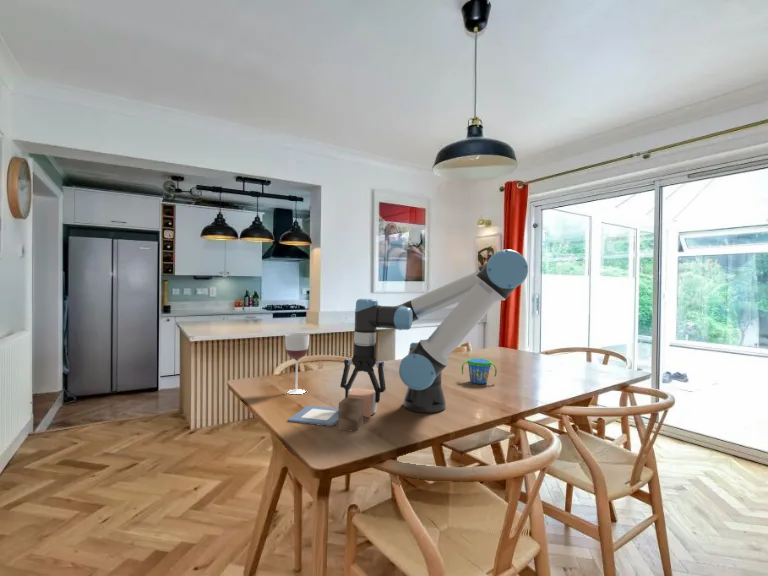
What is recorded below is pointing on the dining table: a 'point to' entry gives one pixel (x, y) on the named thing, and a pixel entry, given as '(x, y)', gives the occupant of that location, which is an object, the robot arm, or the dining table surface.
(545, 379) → the dining table surface
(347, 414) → the walnut column
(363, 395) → the terracotta base
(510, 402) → the dining table surface
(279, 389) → the dining table surface
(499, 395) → the dining table surface
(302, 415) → the board
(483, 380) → the snack cup
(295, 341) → the wineglass
